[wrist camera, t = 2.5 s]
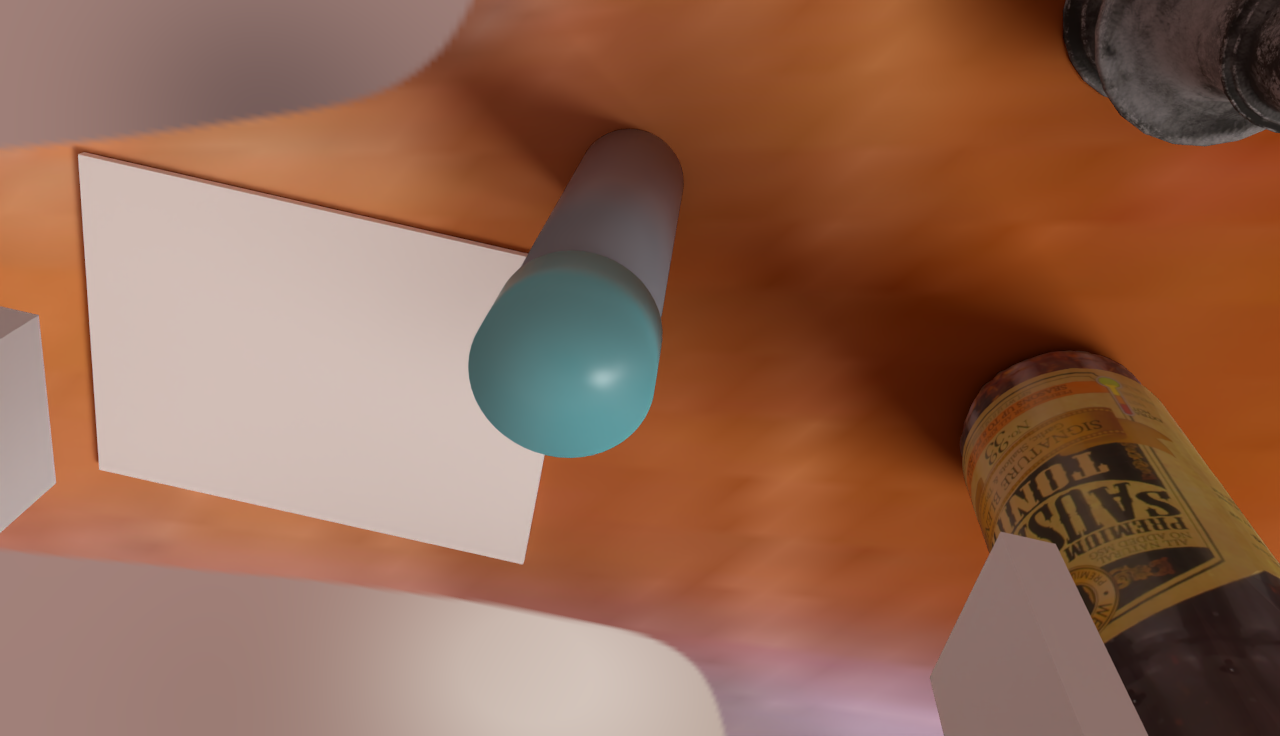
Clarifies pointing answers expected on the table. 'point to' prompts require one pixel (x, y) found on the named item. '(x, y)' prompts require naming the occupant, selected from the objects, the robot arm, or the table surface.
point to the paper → (297, 359)
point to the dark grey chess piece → (1181, 64)
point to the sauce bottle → (1134, 538)
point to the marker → (585, 306)
